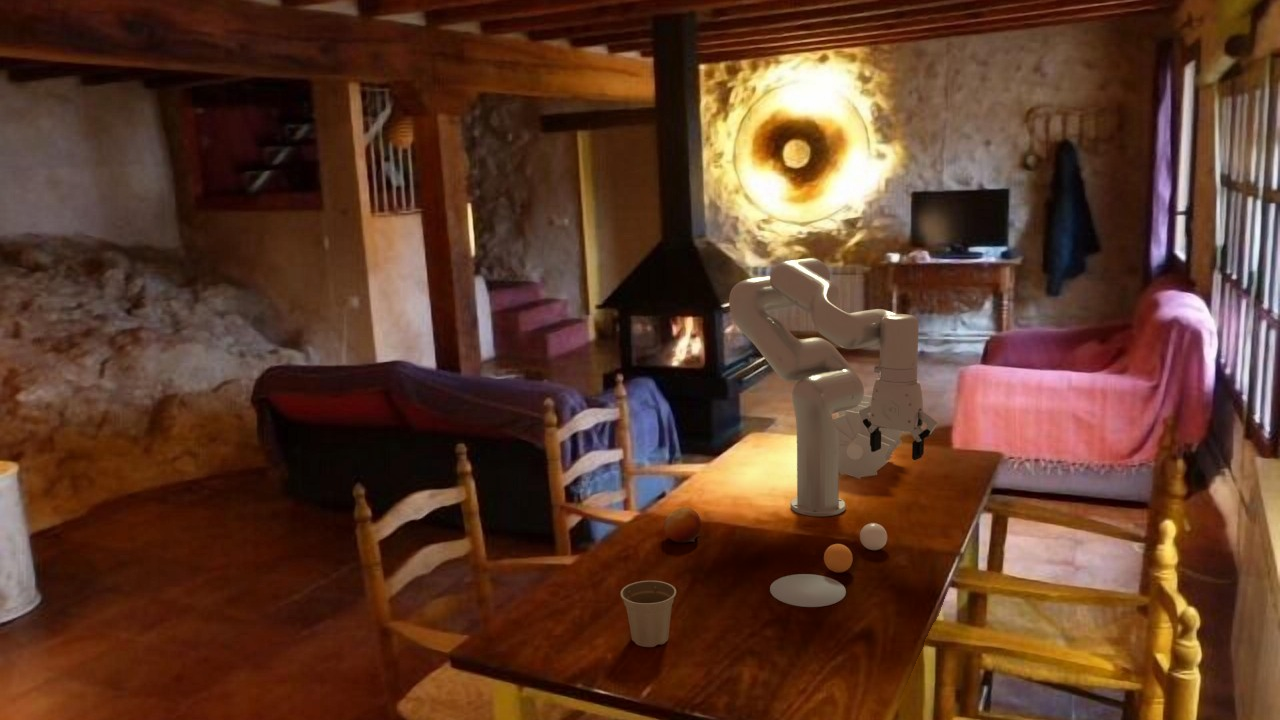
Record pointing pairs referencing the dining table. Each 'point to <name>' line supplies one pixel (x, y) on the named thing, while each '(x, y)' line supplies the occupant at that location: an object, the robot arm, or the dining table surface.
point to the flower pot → (649, 611)
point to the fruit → (682, 525)
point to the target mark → (807, 590)
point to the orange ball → (838, 558)
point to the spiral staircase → (862, 443)
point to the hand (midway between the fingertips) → (896, 454)
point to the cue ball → (873, 536)
